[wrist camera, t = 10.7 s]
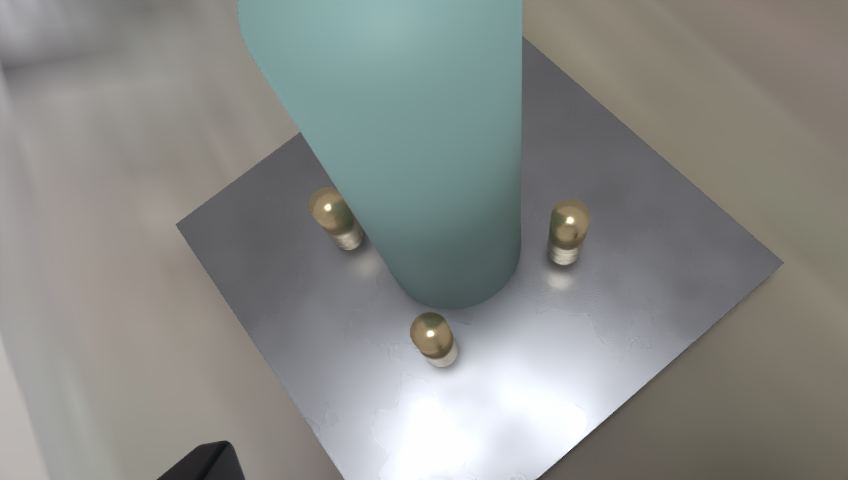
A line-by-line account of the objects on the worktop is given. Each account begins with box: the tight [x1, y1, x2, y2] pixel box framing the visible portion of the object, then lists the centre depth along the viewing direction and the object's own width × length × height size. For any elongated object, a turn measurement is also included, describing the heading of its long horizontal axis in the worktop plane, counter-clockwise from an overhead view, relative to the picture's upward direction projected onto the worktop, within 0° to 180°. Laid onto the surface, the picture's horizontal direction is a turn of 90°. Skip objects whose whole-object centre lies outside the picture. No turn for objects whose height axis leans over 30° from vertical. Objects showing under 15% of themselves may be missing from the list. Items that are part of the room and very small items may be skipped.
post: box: [238, 0, 522, 309], centre depth 16 cm, size 5×5×13 cm
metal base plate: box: [176, 36, 784, 480], centre depth 22 cm, size 16×16×4 cm
